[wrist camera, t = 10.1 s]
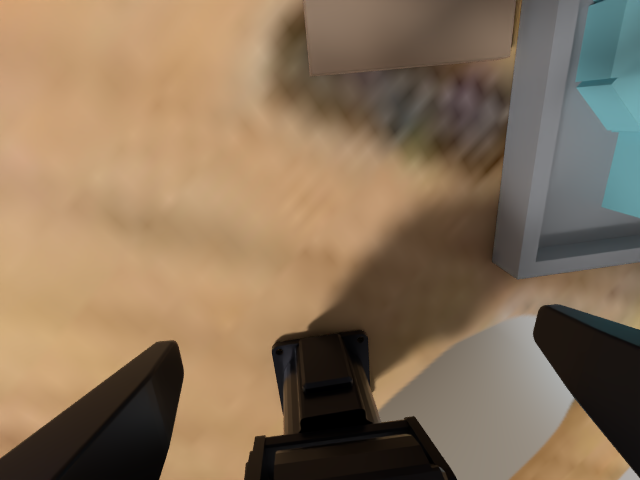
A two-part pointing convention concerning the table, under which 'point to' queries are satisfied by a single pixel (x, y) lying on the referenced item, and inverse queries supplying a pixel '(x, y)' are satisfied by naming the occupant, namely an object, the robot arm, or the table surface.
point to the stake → (404, 33)
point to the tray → (556, 158)
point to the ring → (615, 92)
